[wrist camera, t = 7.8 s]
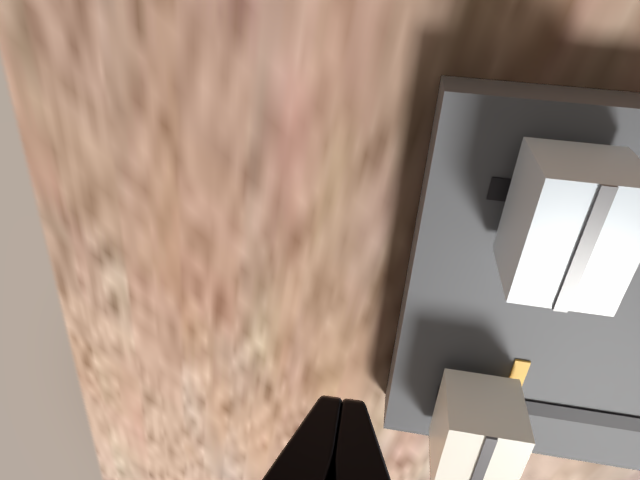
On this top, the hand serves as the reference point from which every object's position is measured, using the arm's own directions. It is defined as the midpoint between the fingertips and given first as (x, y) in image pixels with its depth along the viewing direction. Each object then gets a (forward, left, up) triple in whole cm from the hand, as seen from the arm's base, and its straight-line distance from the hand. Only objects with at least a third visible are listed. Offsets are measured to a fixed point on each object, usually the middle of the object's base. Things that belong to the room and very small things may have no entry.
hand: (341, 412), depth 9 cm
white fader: (-6, -1, -9) cm, 11 cm away
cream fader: (-5, +9, -9) cm, 14 cm away
